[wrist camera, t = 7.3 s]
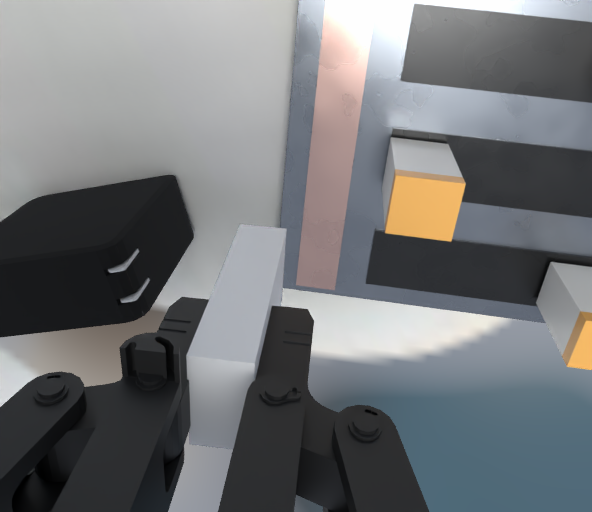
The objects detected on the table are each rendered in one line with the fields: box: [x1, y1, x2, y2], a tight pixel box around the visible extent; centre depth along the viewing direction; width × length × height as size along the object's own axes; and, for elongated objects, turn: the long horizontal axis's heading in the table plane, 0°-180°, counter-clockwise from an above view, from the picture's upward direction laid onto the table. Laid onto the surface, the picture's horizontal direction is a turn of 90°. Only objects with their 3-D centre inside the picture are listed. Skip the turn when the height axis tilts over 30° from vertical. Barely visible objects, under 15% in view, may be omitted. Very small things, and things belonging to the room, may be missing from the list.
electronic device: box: [0, 175, 194, 337], centre depth 31 cm, size 4×10×10 cm, turn 102°
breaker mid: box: [382, 137, 466, 242], centre depth 27 cm, size 3×3×6 cm
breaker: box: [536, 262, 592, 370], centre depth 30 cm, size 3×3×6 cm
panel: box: [280, 0, 592, 323], centre depth 31 cm, size 24×18×2 cm
